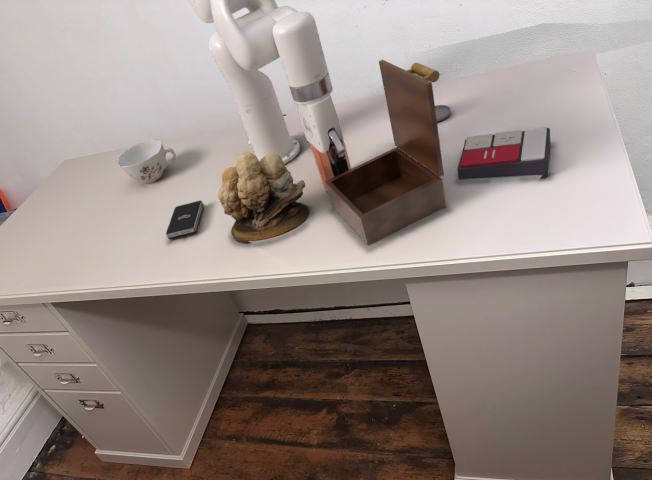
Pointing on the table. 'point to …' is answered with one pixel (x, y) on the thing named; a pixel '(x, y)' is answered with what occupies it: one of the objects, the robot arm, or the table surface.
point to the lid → (413, 112)
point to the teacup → (146, 161)
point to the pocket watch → (442, 112)
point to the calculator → (506, 154)
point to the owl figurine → (261, 198)
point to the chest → (385, 195)
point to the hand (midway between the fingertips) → (334, 169)
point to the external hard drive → (185, 220)
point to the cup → (326, 163)
